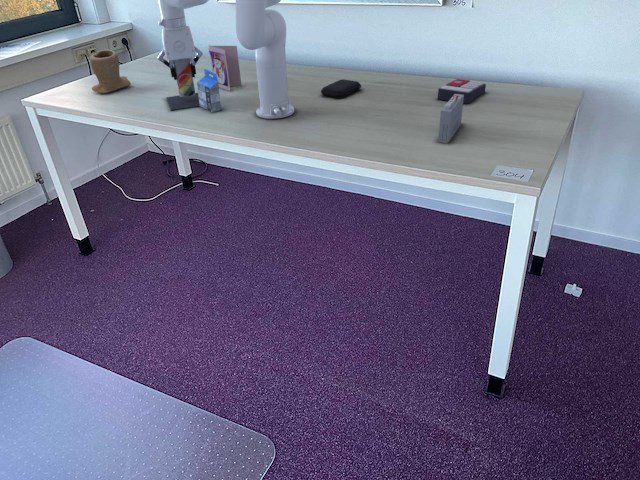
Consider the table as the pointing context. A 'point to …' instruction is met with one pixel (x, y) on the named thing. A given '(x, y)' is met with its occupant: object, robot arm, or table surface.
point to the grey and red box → (462, 90)
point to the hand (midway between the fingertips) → (184, 77)
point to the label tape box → (209, 92)
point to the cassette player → (450, 118)
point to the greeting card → (225, 65)
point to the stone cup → (107, 71)
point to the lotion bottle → (184, 78)
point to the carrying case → (341, 88)
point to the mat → (183, 102)
